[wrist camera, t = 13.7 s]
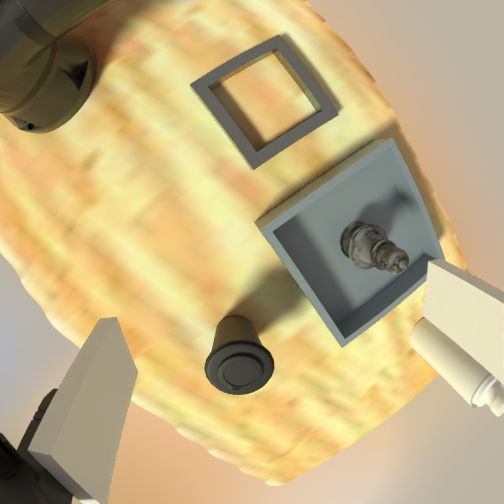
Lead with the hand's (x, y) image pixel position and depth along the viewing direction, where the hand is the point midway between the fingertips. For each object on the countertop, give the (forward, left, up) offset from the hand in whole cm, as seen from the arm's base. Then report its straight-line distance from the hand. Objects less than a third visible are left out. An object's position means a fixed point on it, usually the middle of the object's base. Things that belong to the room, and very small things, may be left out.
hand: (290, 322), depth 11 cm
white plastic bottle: (+35, +15, -27) cm, 47 cm away
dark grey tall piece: (+11, +11, -26) cm, 30 cm away
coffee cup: (+12, -10, -27) cm, 31 cm away
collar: (-11, +11, -27) cm, 31 cm away
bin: (+11, +11, -27) cm, 31 cm away
